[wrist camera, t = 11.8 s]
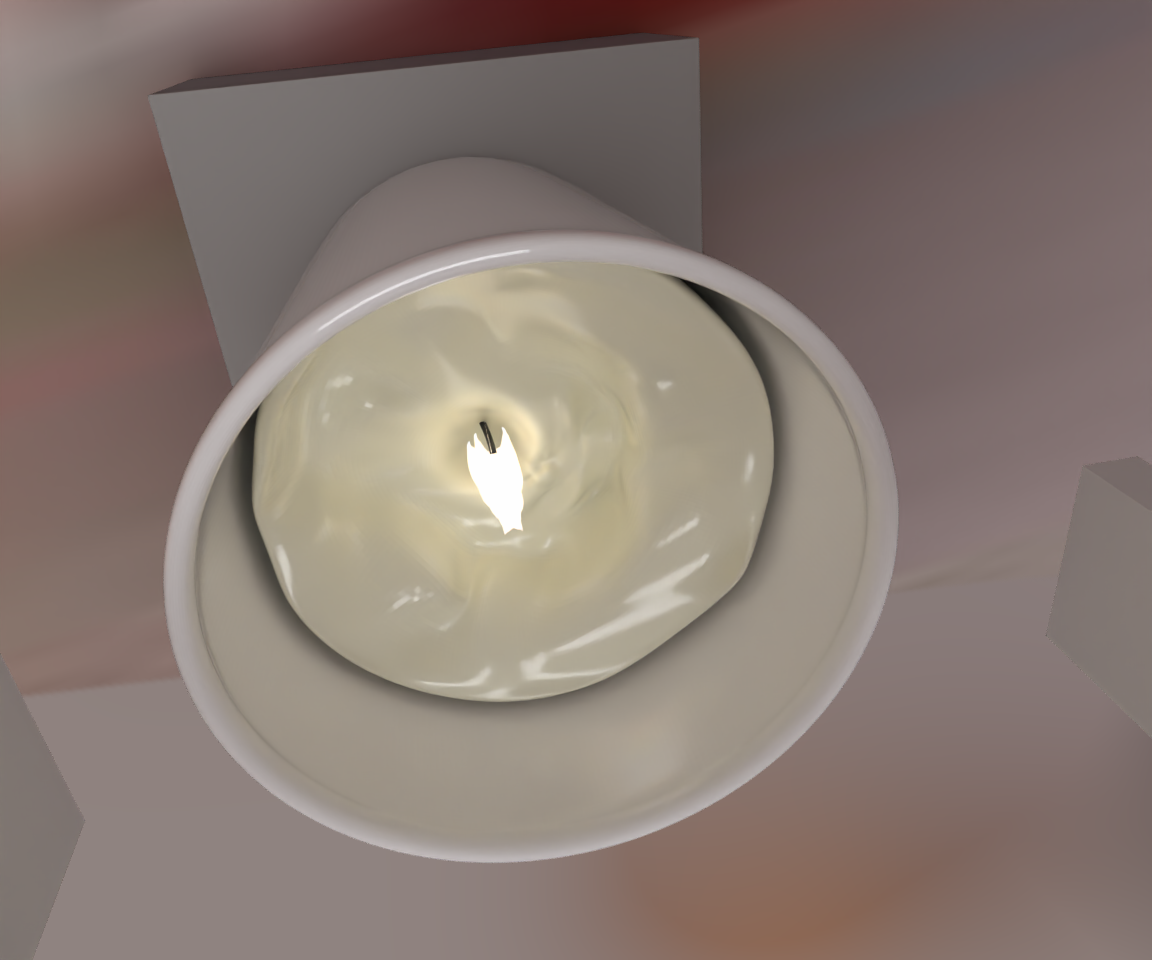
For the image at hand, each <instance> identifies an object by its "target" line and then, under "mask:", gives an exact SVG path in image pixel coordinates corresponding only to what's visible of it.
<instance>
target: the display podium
mask: <svg viewBox="0 0 1152 960" xmlns="http://www.w3.org/2000/svg"><path fill="white" fill-rule="evenodd" d="M148 98H149V102H150V105H151V109H152V112H153V116H154V119H155V123H156V126H157V129H158V133H159V136H160V140H161V143H162V147H163V150H164V154H165V157H166V160H167V164H168V167H169V171H170V174H171V178H172V181H173V185H174V188H175V191H176V195H177V198H178V202H179V205H180V209H181V212H182V216H183V219H184V222H185V226H186V229H187V233H188V236H189V240H190V243H191V247H192V250H193V253H194V257H195V260H196V264H197V267H198V271H199V274H200V278H201V281H202V284H203V288H204V291H205V295H206V298H207V302H208V305H209V309H210V312H211V315H212V319H213V322H214V326H215V329H216V333H217V336H218V340H219V343H220V346H221V350H222V353H223V357H224V360H225V364H226V367H227V371H228V374H229V377H230V381H231V384H232V388H233V387H234V385H235V384H236V383H237V382H238V380H239V379H240V378H241V377H242V375H243V374H244V373H245V372H246V371H247V370H248V368H249V366H250V365H251V363H252V361H253V359H254V358H255V356H256V354H257V352H258V351H259V349H260V347H261V345H262V344H263V342H264V340H265V339H266V337H267V335H268V333H269V332H270V330H271V328H272V326H273V325H274V323H275V321H276V319H277V318H278V316H279V314H280V312H281V311H282V309H283V307H284V306H285V304H286V302H287V300H288V299H289V297H290V295H291V293H292V292H293V290H294V288H295V286H296V285H297V283H298V281H299V280H300V278H301V276H302V274H303V273H304V271H305V269H306V268H307V266H308V264H309V263H310V261H311V259H312V258H313V256H314V254H315V253H316V251H317V249H318V248H319V246H320V245H321V243H322V242H323V240H324V239H325V237H326V236H327V234H328V233H329V231H330V230H331V229H332V227H333V226H334V225H335V224H336V222H337V221H338V220H339V219H340V218H341V216H342V215H343V214H344V213H345V212H346V211H347V210H348V209H349V208H350V207H351V206H352V205H353V204H354V203H355V202H356V201H357V200H359V199H360V198H361V197H362V196H363V195H365V194H366V193H367V192H369V191H370V190H371V189H373V188H374V187H376V186H377V185H379V184H380V183H382V182H383V181H385V180H387V179H389V178H390V177H392V176H394V175H396V174H398V173H400V172H403V171H405V170H407V169H410V168H412V167H415V166H418V165H421V164H424V163H428V162H432V161H436V160H441V159H447V158H454V157H469V156H479V157H493V158H501V159H507V160H512V161H516V162H520V163H524V164H527V165H530V166H533V167H536V168H539V169H542V170H544V171H547V172H549V173H551V174H553V175H556V176H558V177H560V178H562V179H564V180H566V181H568V182H570V183H572V184H574V185H575V186H577V187H579V188H581V189H583V190H585V191H586V192H588V193H590V194H592V195H594V196H596V197H597V198H599V199H601V200H603V201H604V202H606V203H608V204H610V205H612V206H613V207H615V208H617V209H619V210H620V211H622V212H624V213H626V214H628V215H629V216H631V217H633V218H635V219H636V220H638V221H640V222H642V223H644V224H645V225H647V226H649V227H651V228H652V229H654V230H656V231H658V232H660V233H661V234H663V235H665V236H667V237H668V238H670V239H672V240H674V241H676V242H677V243H679V244H681V245H683V246H684V247H686V248H688V249H691V250H694V251H697V252H700V253H702V195H701V132H700V69H699V38H696V37H684V36H673V35H662V34H651V33H636V34H626V35H616V36H607V37H597V38H587V39H577V40H568V41H558V42H548V43H539V44H529V45H519V46H509V47H500V48H490V49H480V50H471V51H461V52H451V53H441V54H432V55H422V56H412V57H402V58H393V59H383V60H373V61H364V62H354V63H344V64H334V65H325V66H315V67H305V68H296V69H286V70H276V71H266V72H257V73H247V74H237V75H228V76H218V77H208V78H198V79H191V80H188V81H185V82H183V83H180V84H177V85H175V86H172V87H169V88H166V89H164V90H161V91H158V92H156V93H153V94H150V95H148Z"/></svg>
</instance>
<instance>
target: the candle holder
mask: <svg viewBox="0 0 1152 960" xmlns="http://www.w3.org/2000/svg"><path fill="white" fill-rule="evenodd" d="M898 530H899V503H898V490H897V481H896V474H895V468H894V463H893V459H892V454H891V450H890V447H889V443H888V440H887V437H886V434H885V431H884V428H883V425H882V422H881V420H880V417H879V415H878V413H877V410H876V408H875V406H874V404H873V402H872V400H871V398H870V396H869V394H868V392H867V390H866V388H865V387H864V385H863V383H862V382H861V380H860V378H859V377H858V375H857V374H856V372H855V370H854V369H853V368H852V366H851V365H850V363H849V362H848V361H847V359H846V358H845V356H844V355H843V354H842V353H841V351H840V350H839V349H838V348H837V346H836V345H835V344H834V343H833V342H832V341H831V340H830V338H829V337H828V336H827V335H826V334H825V333H824V332H823V331H822V330H821V329H820V328H819V327H818V326H817V325H816V324H815V323H814V322H813V321H812V320H811V319H810V318H809V317H808V316H806V315H805V314H804V313H803V312H802V311H801V310H799V309H798V308H797V307H796V306H795V305H793V304H792V303H791V302H790V301H788V300H787V299H785V298H784V297H783V296H781V295H780V294H779V293H777V292H776V291H774V290H773V289H771V288H770V287H768V286H767V285H765V284H764V283H762V282H760V281H759V280H757V279H755V278H753V277H752V276H750V275H748V274H746V273H744V272H743V271H741V270H739V269H737V268H735V267H733V266H731V265H729V264H726V263H724V262H722V261H720V260H717V259H715V258H713V257H710V256H708V255H705V254H702V253H700V252H697V251H694V250H691V249H688V248H686V247H684V246H683V245H681V244H679V243H677V242H676V241H674V240H672V239H670V238H668V237H667V236H665V235H663V234H661V233H660V232H658V231H656V230H654V229H652V228H651V227H649V226H647V225H645V224H644V223H642V222H640V221H638V220H636V219H635V218H633V217H631V216H629V215H628V214H626V213H624V212H622V211H620V210H619V209H617V208H615V207H613V206H612V205H610V204H608V203H606V202H604V201H603V200H601V199H599V198H597V197H596V196H594V195H592V194H590V193H588V192H586V191H585V190H583V189H581V188H579V187H577V186H575V185H574V184H572V183H570V182H568V181H566V180H564V179H562V178H560V177H558V176H556V175H553V174H551V173H549V172H547V171H544V170H542V169H539V168H536V167H533V166H530V165H527V164H524V163H520V162H516V161H512V160H507V159H501V158H493V157H479V156H469V157H454V158H447V159H441V160H436V161H432V162H428V163H424V164H421V165H418V166H415V167H412V168H410V169H407V170H405V171H403V172H400V173H398V174H396V175H394V176H392V177H390V178H389V179H387V180H385V181H383V182H382V183H380V184H379V185H377V186H376V187H374V188H373V189H371V190H370V191H369V192H367V193H366V194H365V195H363V196H362V197H361V198H360V199H359V200H357V201H356V202H355V203H354V204H353V205H352V206H351V207H350V208H349V209H348V210H347V211H346V212H345V213H344V214H343V215H342V216H341V218H340V219H339V220H338V221H337V222H336V224H335V225H334V226H333V227H332V229H331V230H330V231H329V233H328V234H327V236H326V237H325V239H324V240H323V242H322V243H321V245H320V246H319V248H318V249H317V251H316V253H315V254H314V256H313V258H312V259H311V261H310V263H309V264H308V266H307V268H306V269H305V271H304V273H303V274H302V276H301V278H300V280H299V281H298V283H297V285H296V286H295V288H294V290H293V292H292V293H291V295H290V297H289V299H288V300H287V302H286V304H285V306H284V307H283V309H282V311H281V312H280V314H279V316H278V318H277V319H276V321H275V323H274V325H273V326H272V328H271V330H270V332H269V333H268V335H267V337H266V339H265V340H264V342H263V344H262V345H261V347H260V349H259V351H258V352H257V354H256V356H255V358H254V359H253V361H252V363H251V365H250V366H249V368H248V370H247V371H246V372H245V373H244V374H243V375H242V377H241V378H240V379H239V380H238V382H237V383H236V384H235V385H234V387H233V388H232V389H231V390H230V392H229V393H228V394H227V396H226V397H225V399H224V400H223V401H222V403H221V404H220V406H219V407H218V409H217V410H216V412H215V413H214V415H213V416H212V418H211V420H210V421H209V423H208V425H207V426H206V428H205V430H204V432H203V433H202V435H201V437H200V439H199V441H198V443H197V445H196V447H195V449H194V451H193V453H192V455H191V457H190V459H189V462H188V464H187V466H186V469H185V471H184V474H183V476H182V479H181V482H180V485H179V488H178V491H177V494H176V497H175V501H174V504H173V508H172V512H171V516H170V520H169V525H168V530H167V537H166V544H165V552H164V565H163V596H164V608H165V616H166V623H167V629H168V634H169V638H170V643H171V647H172V650H173V654H174V657H175V660H176V664H177V666H178V669H179V672H180V675H181V677H182V680H183V682H184V684H185V686H186V689H187V691H188V693H189V695H190V697H191V699H192V701H193V703H194V705H195V706H196V708H197V710H198V712H199V713H200V715H201V717H202V719H203V720H204V722H205V723H206V725H207V726H208V728H209V729H210V730H211V732H212V733H213V735H214V736H215V738H216V739H217V740H218V742H219V743H220V744H221V745H222V746H223V748H224V749H225V750H226V751H227V752H228V754H229V755H230V756H231V757H232V758H233V759H234V760H235V761H236V762H237V763H238V764H239V765H240V766H241V767H242V768H243V769H244V770H245V771H246V772H247V773H248V774H249V775H250V776H251V777H252V778H253V779H254V780H256V781H257V782H258V783H259V784H260V785H261V786H263V787H264V788H265V789H266V790H268V791H269V792H270V793H272V794H273V795H275V796H276V797H277V798H279V799H280V800H281V801H283V802H284V803H286V804H287V805H289V806H290V807H292V808H294V809H295V810H297V811H298V812H300V813H301V814H303V815H305V816H307V817H309V818H311V819H312V820H314V821H316V822H318V823H320V824H322V825H324V826H326V827H328V828H330V829H333V830H334V831H337V832H339V833H342V834H344V835H346V836H349V837H351V838H354V839H356V840H359V841H362V842H365V843H368V844H371V845H374V846H377V847H381V848H385V849H388V850H392V851H396V852H400V853H405V854H409V855H414V856H420V857H426V858H432V859H440V860H448V861H458V862H474V863H508V862H509V863H510V862H526V861H537V860H546V859H553V858H559V857H566V856H571V855H577V854H582V853H586V852H591V851H595V850H599V849H603V848H607V847H611V846H614V845H617V844H621V843H624V842H627V841H630V840H633V839H636V838H639V837H642V836H645V835H648V834H650V833H653V832H655V831H658V830H660V829H663V828H665V827H667V826H669V825H672V824H674V823H677V822H679V821H681V820H683V819H685V818H687V817H689V816H691V815H693V814H695V813H697V812H699V811H701V810H703V809H705V808H706V807H708V806H710V805H712V804H714V803H715V802H717V801H718V800H720V799H722V798H724V797H725V796H727V795H728V794H730V793H732V792H733V791H735V790H736V789H738V788H739V787H741V786H742V785H744V784H745V783H746V782H748V781H749V780H751V779H752V778H753V777H755V776H756V775H757V774H759V773H760V772H761V771H763V770H764V769H765V768H767V767H768V766H769V765H770V764H771V763H773V762H774V761H775V760H776V759H777V758H779V757H780V756H781V755H782V754H783V753H784V752H786V750H788V749H789V748H790V747H791V746H792V745H793V744H794V743H795V742H796V741H797V740H798V739H799V738H800V737H801V736H802V735H803V734H804V733H805V732H806V731H807V730H808V729H809V728H810V727H811V726H812V725H813V723H814V722H815V721H816V720H817V719H818V718H819V717H820V716H821V714H822V713H823V712H824V711H825V709H826V708H827V707H828V706H829V705H830V703H831V702H832V701H833V699H834V698H835V697H836V695H837V694H838V693H839V691H840V690H841V689H842V687H843V686H844V684H845V683H846V681H847V680H848V678H849V677H850V675H851V674H852V672H853V670H854V669H855V667H856V665H857V664H858V662H859V660H860V658H861V656H862V655H863V653H864V651H865V649H866V647H867V645H868V643H869V641H870V638H871V637H872V634H873V632H874V630H875V627H876V625H877V623H878V620H879V618H880V615H881V612H882V609H883V607H884V604H885V600H886V597H887V594H888V590H889V587H890V583H891V579H892V574H893V570H894V564H895V558H896V552H897V543H898Z"/></svg>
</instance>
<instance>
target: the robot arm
mask: <svg viewBox="0 0 1152 960" xmlns="http://www.w3.org/2000/svg"><path fill="white" fill-rule="evenodd" d="M1046 636H1047V637H1048V638H1049V639H1050V640H1051V641H1052V642H1053V643H1054V644H1055V645H1056V646H1057V647H1058V648H1059V649H1060V650H1061V651H1062V652H1063V653H1064V654H1065V655H1067V657H1068V658H1069V659H1071V660H1072V661H1073V662H1074V663H1075V664H1076V665H1077V666H1078V667H1079V668H1080V669H1081V670H1082V671H1083V672H1084V673H1085V674H1086V675H1087V676H1088V677H1089V678H1090V679H1091V680H1092V681H1093V682H1094V683H1095V684H1096V685H1097V686H1098V687H1099V688H1100V689H1101V690H1103V692H1104V693H1106V694H1107V695H1108V696H1109V697H1110V698H1111V699H1112V700H1113V701H1114V702H1115V703H1116V704H1117V705H1118V706H1119V707H1120V708H1121V709H1122V710H1123V711H1124V712H1125V713H1126V714H1127V715H1128V716H1129V717H1130V718H1131V719H1132V720H1133V721H1134V722H1135V723H1136V724H1137V725H1138V726H1139V727H1141V728H1142V729H1143V730H1144V731H1145V732H1146V733H1147V734H1148V735H1149V736H1150V737H1151V738H1152V465H1151V464H1149V463H1147V462H1146V461H1144V460H1142V459H1141V458H1139V457H1138V456H1136V457H1130V458H1124V459H1119V460H1113V461H1107V462H1101V463H1095V464H1089V465H1083V467H1082V471H1081V476H1080V481H1079V485H1078V490H1077V494H1076V499H1075V504H1074V508H1073V513H1072V517H1071V522H1070V527H1069V531H1068V536H1067V540H1066V545H1065V550H1064V554H1063V559H1062V563H1061V568H1060V573H1059V577H1058V582H1057V586H1056V591H1055V596H1054V600H1053V605H1052V609H1051V614H1050V619H1049V624H1048V628H1047V633H1046ZM84 822H85V819H84V817H83V815H82V813H81V812H80V810H79V808H78V806H77V804H76V802H75V800H74V798H73V796H72V794H71V792H70V790H69V788H68V786H67V784H66V782H65V780H64V778H63V776H62V774H61V772H60V770H59V768H58V766H57V764H56V762H55V760H54V758H53V756H52V754H51V752H50V750H49V748H48V746H47V744H46V742H45V740H44V738H43V736H42V735H41V733H40V731H39V729H38V727H37V725H36V723H35V721H34V719H33V717H32V715H31V713H30V711H29V709H28V707H27V705H26V703H25V701H24V699H23V697H22V695H21V693H20V691H19V689H18V687H17V685H16V683H15V681H14V679H13V677H12V675H11V673H10V671H9V669H8V667H7V665H6V664H5V662H4V660H3V658H2V656H1V654H0V960H33V957H34V955H35V952H36V949H37V947H38V944H39V941H40V939H41V936H42V933H43V931H44V928H45V926H46V923H47V920H48V918H49V915H50V912H51V909H52V907H53V904H54V902H55V899H56V896H57V894H58V891H59V889H60V886H61V883H62V881H63V878H64V875H65V873H66V870H67V867H68V864H69V862H70V859H71V857H72V854H73V851H74V849H75V846H76V844H77V841H78V838H79V836H80V833H81V830H82V828H83V825H84Z"/></svg>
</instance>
